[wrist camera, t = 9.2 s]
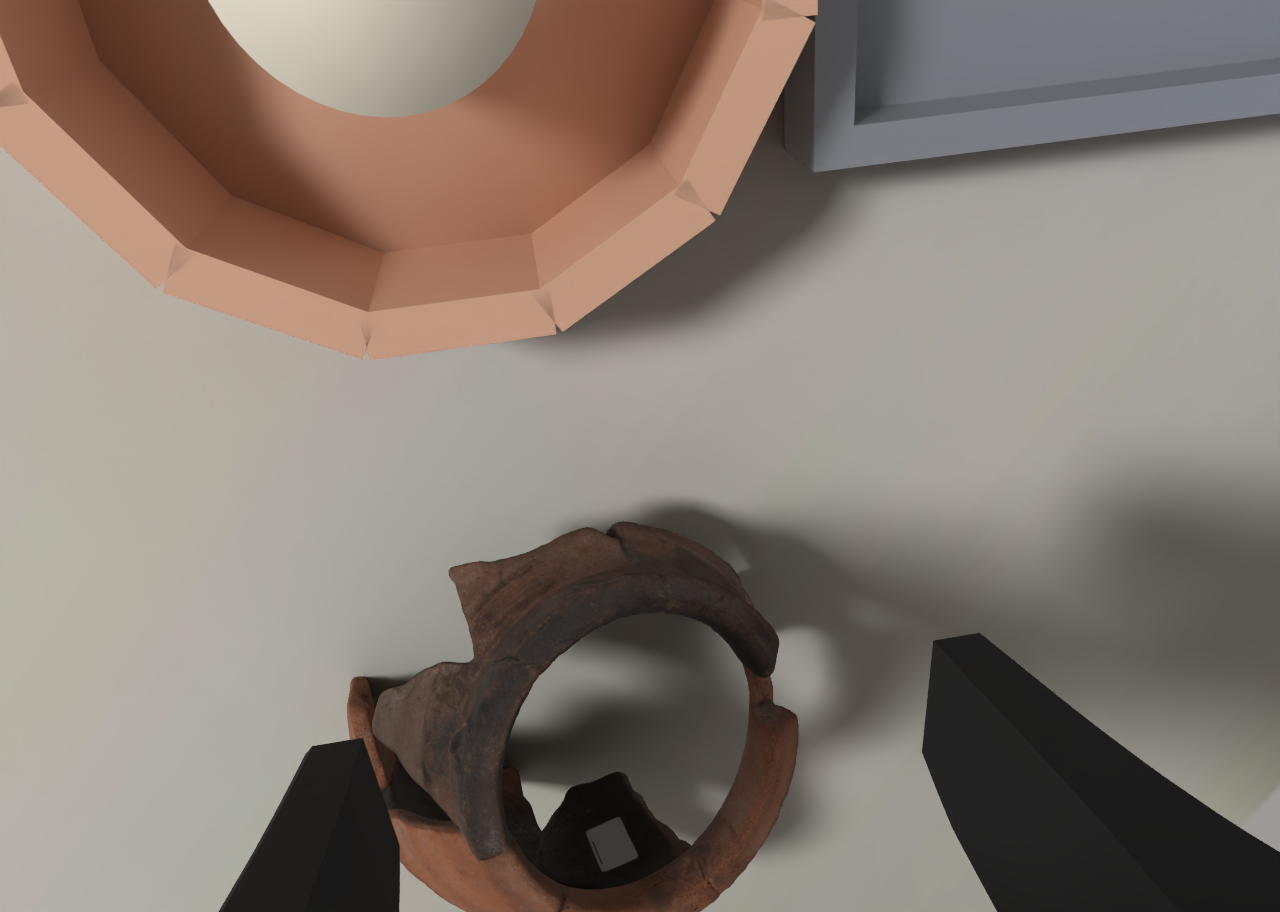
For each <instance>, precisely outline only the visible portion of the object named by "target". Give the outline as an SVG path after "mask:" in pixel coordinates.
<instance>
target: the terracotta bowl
mask: <svg viewBox="0 0 1280 912" xmlns="http://www.w3.org/2000/svg"><path fill="white" fill-rule="evenodd" d="M812 15H818V0H536V2H535V5H534V8H533V12H532V15H531V17H530V19H529V21H528V24H527V26H526V28H525V30H524V33H523V35H522V36H521V38H520V40H519V41H518V43H517V44H516V46H515V48H514V49H513V51H512V53H511V54H510V55H509V56H508V58H507V59H506V60H505V61H504V63H503V64H502V65H501V66H500V67H499V69H498V70H497V71H496V72H495V73H494V74H493V75H492V76H490V77H489V78H488V79H487V80H486V81H485V82H484V83H483V84H482V85H480V86H479V87H478V88H476V89H475V90H473V91H472V92H470V93H469V94H467V95H466V96H464V97H463V98H461V99H459V100H457V101H455V102H453V103H451V104H449V105H447V106H444V107H441V108H438V109H435V110H432V111H429V112H426V113H421V114H415V115H410V116H402V117H374V116H362V115H358V114H353V113H348V112H344V111H340V110H337V109H334V108H331V107H328V106H325V105H323V104H320V103H317V102H315V101H313V100H311V99H309V98H307V97H305V96H303V95H301V94H299V93H297V92H295V91H294V90H292V89H291V88H289V87H288V86H286V85H285V84H283V83H282V82H280V81H278V80H277V79H276V78H274V77H273V76H272V75H271V74H269V73H268V72H267V71H266V70H265V69H263V68H262V67H261V66H260V65H259V64H257V63H256V62H255V61H254V60H253V59H252V58H251V57H250V56H249V55H248V54H247V52H246V51H245V50H244V49H243V48H242V47H241V46H240V45H239V44H238V43H237V42H236V40H235V39H234V38H233V37H232V35H231V34H230V33H229V31H228V30H227V29H226V28H225V26H224V25H223V24H222V22H221V20H220V19H219V17H218V16H217V14H216V12H215V11H214V9H213V8H212V6H211V4H210V3H209V1H208V0H0V146H1V147H2V148H3V149H4V150H5V151H6V152H7V153H9V154H10V155H11V156H12V157H13V158H14V159H15V160H16V161H17V162H18V163H19V164H21V165H22V166H23V167H24V168H25V169H26V170H27V171H28V172H29V173H30V174H31V175H33V176H34V177H35V178H36V179H37V180H38V181H39V182H40V183H41V184H42V185H43V186H45V187H46V188H47V189H48V190H49V191H50V192H51V193H52V194H53V195H54V196H55V197H57V198H58V199H59V200H60V201H61V202H62V203H63V204H64V205H65V206H66V207H67V208H69V209H70V210H71V211H72V212H73V213H74V214H75V215H76V216H77V217H78V218H79V219H81V220H82V221H83V222H84V223H85V224H86V225H87V226H88V227H89V228H90V229H91V230H93V231H94V232H95V233H96V234H97V235H98V236H99V237H100V238H101V239H102V240H103V241H105V242H106V243H107V244H108V245H109V246H110V247H111V248H112V249H113V250H114V251H115V252H117V253H118V254H119V255H120V256H121V257H122V258H123V259H124V260H125V261H126V262H127V263H129V264H130V265H131V266H132V267H133V268H134V269H135V270H136V271H137V272H138V273H139V274H141V275H142V276H143V277H144V278H145V279H146V280H147V281H148V282H149V283H150V284H151V285H153V286H154V287H155V288H157V287H158V286H160V285H161V284H162V283H163V282H164V281H165V285H164V289H163V293H165V294H168V295H171V296H174V297H177V298H180V299H183V300H186V301H189V302H192V303H195V304H198V305H201V306H204V307H207V308H210V309H213V310H216V311H219V312H222V313H225V314H228V315H231V316H234V317H237V318H240V319H243V320H246V321H249V322H252V323H255V324H258V325H261V326H264V327H267V328H270V329H273V330H276V331H279V332H282V333H285V334H288V335H291V336H294V337H297V338H300V339H303V340H306V341H309V342H312V343H315V344H318V345H321V346H324V347H327V348H330V349H333V350H336V351H339V352H342V353H345V354H348V355H351V356H354V357H357V358H360V359H363V358H364V355H365V352H366V350H367V351H368V355H369V359H370V360H374V359H382V358H389V357H396V356H403V355H411V354H418V353H425V352H432V351H440V350H447V349H454V348H461V347H469V346H476V345H483V344H490V343H498V342H505V341H512V340H519V339H527V338H534V337H541V336H548V335H556V327H555V324H556V325H557V326H558V327H559V328H560V330H561V331H562V332H563V331H565V330H566V329H567V328H569V327H570V326H572V325H573V324H574V323H576V322H577V321H578V320H580V319H581V318H583V317H584V316H585V315H587V314H588V313H589V312H591V311H592V310H594V309H595V308H596V307H598V306H599V305H600V304H602V303H603V302H605V301H606V300H607V299H609V298H610V297H611V296H613V295H614V294H616V293H617V292H618V291H620V290H621V289H622V288H624V287H625V286H627V285H628V284H629V283H631V282H632V281H633V280H635V279H636V278H638V277H639V276H640V275H642V274H643V273H644V272H646V271H647V270H649V269H650V268H651V267H653V266H654V265H655V264H657V263H658V262H660V261H661V260H662V259H664V258H665V257H666V256H668V255H669V254H671V253H672V252H673V251H675V250H676V249H677V248H679V247H680V246H682V245H683V244H684V243H686V242H687V241H688V240H690V239H691V238H693V237H694V236H695V235H697V234H698V233H699V232H701V231H702V230H704V229H705V228H706V227H708V226H709V225H710V224H712V223H713V222H715V219H714V218H713V216H712V215H711V213H710V212H709V211H711V212H713V213H716V214H718V215H721V213H722V211H723V209H724V207H725V205H726V203H727V201H728V199H729V197H730V195H731V192H732V190H733V188H734V186H735V184H736V182H737V180H738V178H739V176H740V174H741V172H742V170H743V168H744V166H745V164H746V162H747V160H748V158H749V156H750V154H751V152H752V150H753V148H754V146H755V144H756V142H757V140H758V138H759V136H760V134H761V132H762V130H763V128H764V126H765V124H766V122H767V120H768V118H769V116H770V114H771V112H772V110H773V108H774V106H775V104H776V102H777V100H778V98H779V96H780V94H781V92H782V90H783V88H784V86H785V84H786V82H787V80H788V78H789V76H790V74H791V72H792V69H793V67H794V65H795V63H796V61H797V59H798V57H799V55H800V53H801V51H802V49H803V47H804V45H805V43H806V41H807V39H808V37H809V35H810V33H811V31H812V29H813V27H814V25H815V22H813V21H811V20H810V19H808V18H806V17H804V16H812Z"/></svg>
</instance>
